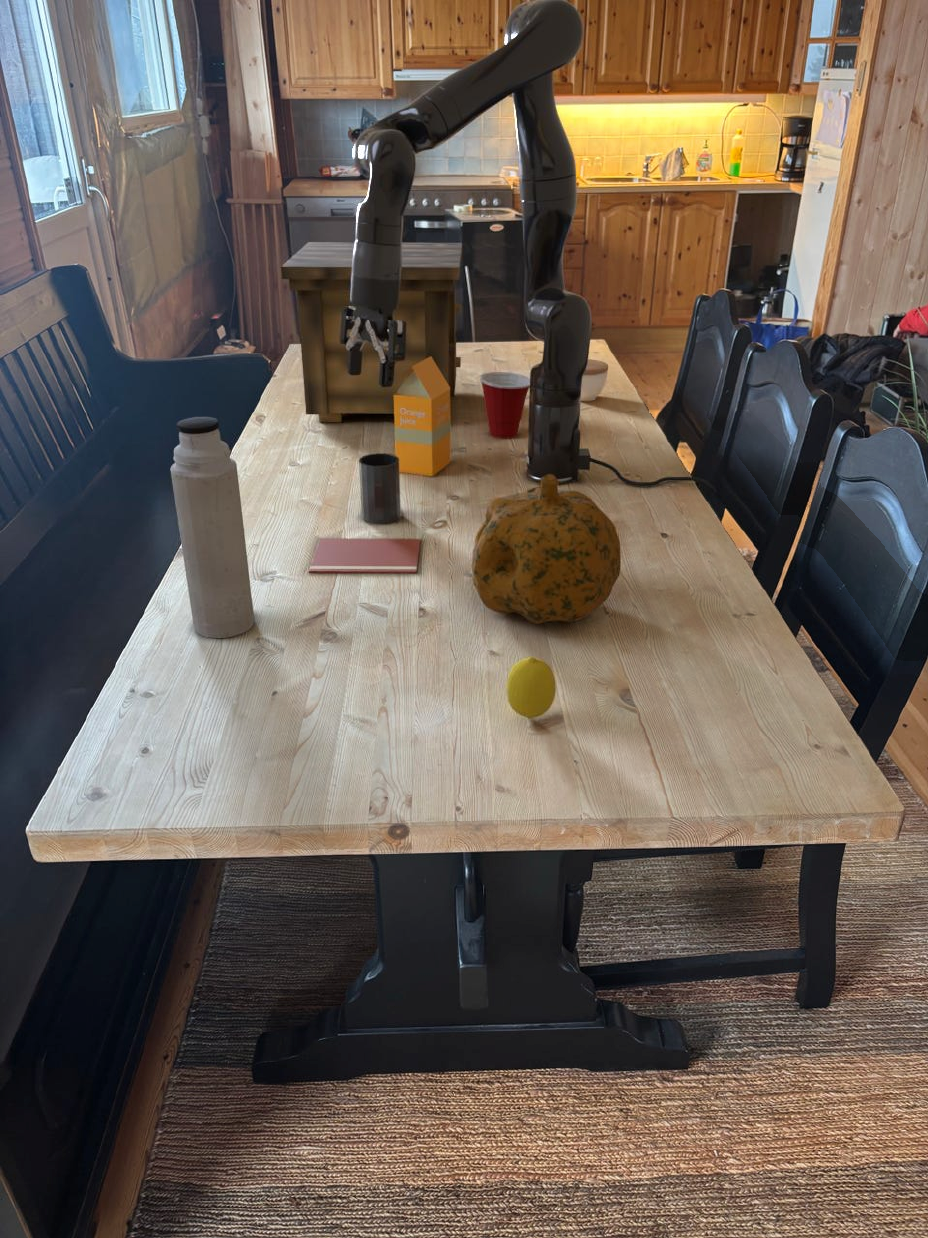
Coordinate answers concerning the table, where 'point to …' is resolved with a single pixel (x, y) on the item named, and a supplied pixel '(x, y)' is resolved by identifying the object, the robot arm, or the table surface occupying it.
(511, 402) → the plastic cup
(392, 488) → the black cup
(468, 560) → the table surface
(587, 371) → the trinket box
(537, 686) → the lemon
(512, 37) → the robot arm
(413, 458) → the orange juice
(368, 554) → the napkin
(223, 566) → the thermos bottle
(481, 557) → the decorative pumpkin
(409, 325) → the crate
